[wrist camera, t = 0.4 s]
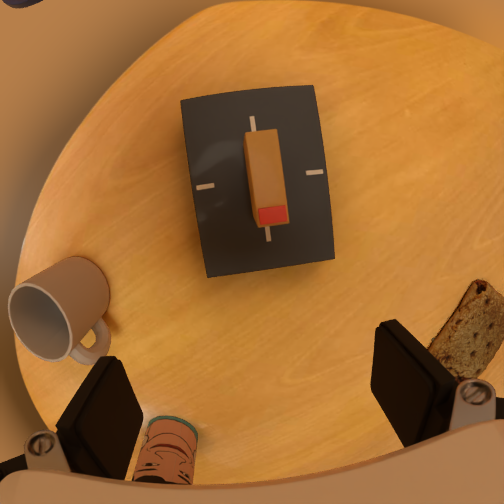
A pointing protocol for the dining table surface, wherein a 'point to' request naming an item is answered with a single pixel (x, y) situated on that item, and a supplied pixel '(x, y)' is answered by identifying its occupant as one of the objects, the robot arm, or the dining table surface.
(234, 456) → the dining table surface
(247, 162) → the red-cornered brown block
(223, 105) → the plate
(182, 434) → the printed cylinder
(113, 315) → the dining table surface
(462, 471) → the robot arm
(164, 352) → the dining table surface
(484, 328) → the pastry
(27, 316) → the cup
